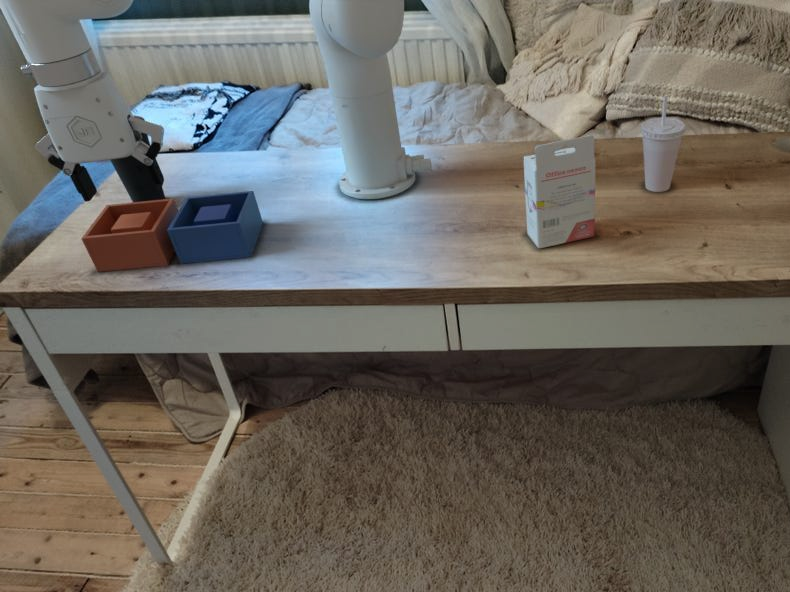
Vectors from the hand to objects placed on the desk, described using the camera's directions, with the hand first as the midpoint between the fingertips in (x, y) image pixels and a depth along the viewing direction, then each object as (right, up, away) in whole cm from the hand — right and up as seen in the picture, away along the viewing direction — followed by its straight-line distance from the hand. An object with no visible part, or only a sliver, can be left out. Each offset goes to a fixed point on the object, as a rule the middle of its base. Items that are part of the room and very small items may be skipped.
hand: (124, 192), depth 100 cm
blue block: (+12, -6, +5) cm, 14 cm away
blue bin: (+12, -6, +6) cm, 15 cm away
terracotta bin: (0, -7, +6) cm, 9 cm away
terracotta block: (0, -7, +5) cm, 9 cm away
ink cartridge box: (+62, -6, 0) cm, 62 cm away
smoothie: (+78, +3, +9) cm, 79 cm away
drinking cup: (-4, +2, +18) cm, 18 cm away
